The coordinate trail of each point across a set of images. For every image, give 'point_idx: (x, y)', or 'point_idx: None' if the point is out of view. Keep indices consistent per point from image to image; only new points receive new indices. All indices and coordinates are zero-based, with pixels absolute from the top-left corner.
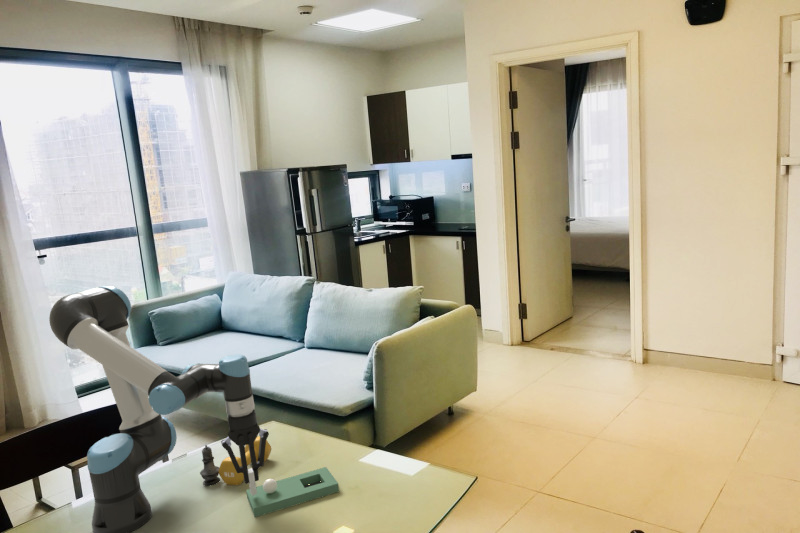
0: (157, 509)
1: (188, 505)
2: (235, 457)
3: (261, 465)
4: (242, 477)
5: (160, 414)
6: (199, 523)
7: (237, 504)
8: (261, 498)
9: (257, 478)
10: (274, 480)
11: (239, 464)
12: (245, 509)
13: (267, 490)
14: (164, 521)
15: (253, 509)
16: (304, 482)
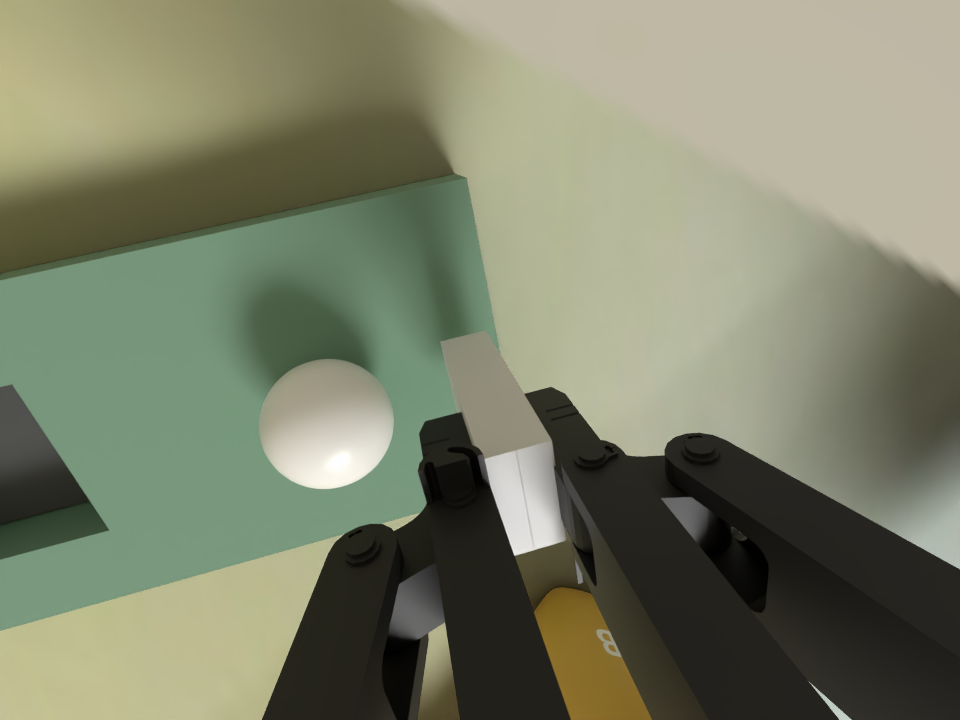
0: (935, 462)
1: (809, 459)
2: (841, 692)
3: (361, 535)
4: (544, 621)
5: None
6: (795, 243)
7: (568, 392)
8: (406, 329)
9: (433, 433)
10: (271, 451)
11: (580, 714)
12: (520, 314)
13: (347, 364)
14: (940, 338)
15: (465, 179)
16: (90, 514)
